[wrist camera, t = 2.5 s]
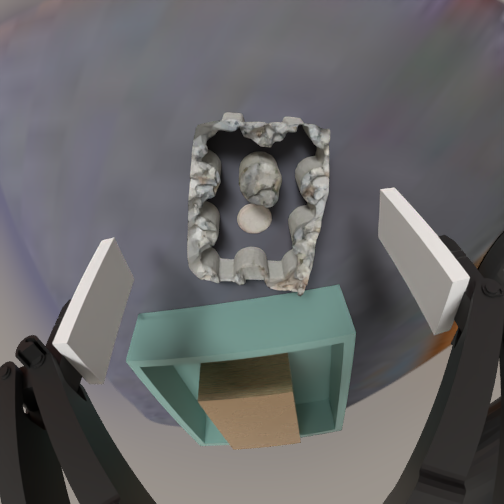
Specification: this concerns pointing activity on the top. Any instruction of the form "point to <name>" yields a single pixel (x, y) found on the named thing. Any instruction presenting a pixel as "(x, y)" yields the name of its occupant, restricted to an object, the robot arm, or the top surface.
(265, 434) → the tan cardboard block
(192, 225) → the egg carton
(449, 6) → the top surface
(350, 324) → the tote
